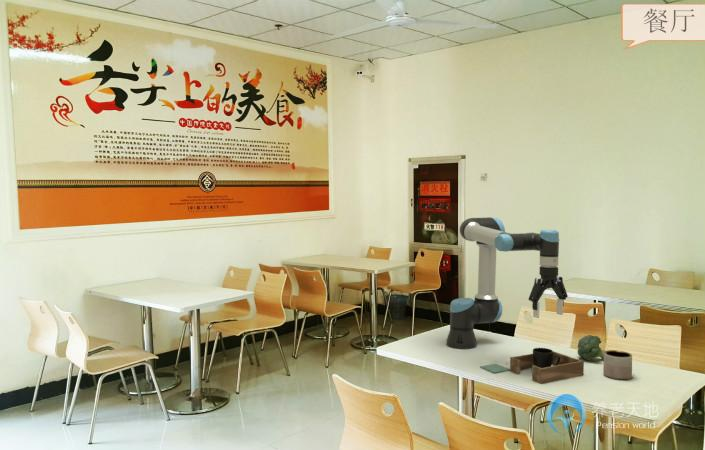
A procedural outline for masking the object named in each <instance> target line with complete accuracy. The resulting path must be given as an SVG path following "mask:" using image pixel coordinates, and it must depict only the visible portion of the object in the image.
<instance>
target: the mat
mask: <svg viewBox="0 0 705 450" xmlns="http://www.w3.org/2000/svg"><path fill="white" fill-rule="evenodd" d="M479 367H480V369H482V370H485V371H487V372H490V373H491V374H498V373H499V374H500V373H504V372H511V371H510V368H507V367H505V366H504V365H501V364H498V363H492V364H487V365H480V366H479Z"/></svg>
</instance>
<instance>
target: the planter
mask: <svg viewBox="0 0 705 450" xmlns="http://www.w3.org/2000/svg"><path fill="white" fill-rule="evenodd" d="M602 369H603V371H602V372H603V375H604V376H605V377H607V378H609V379H613V380H617V379H618V380H619V381H625V380H626V381H627V380H631V378H632V377H633V355H632V353H629V352H627V351H622V350H614V349H612V350H611V349H610V350H605V352H604V359H603V368H602Z"/></svg>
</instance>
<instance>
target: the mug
mask: <svg viewBox="0 0 705 450" xmlns="http://www.w3.org/2000/svg"><path fill="white" fill-rule="evenodd" d="M532 354H533V363H534V366H537V367H540V368H545V367H551V366H553V365H552V361H553V356H557V357H558V361H557V363H556V365H558V364H559V362H560V356H559V355H555V354H553V350H552V349H551V348H547V347H536V348H532ZM556 365H555V366H556Z"/></svg>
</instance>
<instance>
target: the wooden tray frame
mask: <svg viewBox="0 0 705 450" xmlns="http://www.w3.org/2000/svg"><path fill="white" fill-rule="evenodd" d="M552 351H553V350H552ZM553 354H555V355H559V356H560V362H559V364H558V365H556V363H557V361H558V357H557V356H553V361H552V366H551V367H545V368H540V367H537V366H534V363H533V353H530V354H523V355H518V356H511V357H510V358H509V359H510V360H509V361H510V362H509V369H510V371H509V372H511V373H514V374H516V375H521V371H523V370H530V369H531V370H532V372H531V373H532V374H531V376H532V377H531V378H532V379H531V380H532V381H533V382H535V383H538V384H541V385H542V384H546V383H552V382H557V381H562V380H568V379H572V378H577V377H581V376H585V375H584V371H585V369H584V368H585V365H584V364H585V361H584V360H581V359H578V358H575V357H572V356H569V355H566V354H563V353H560V352H556V351H553ZM555 365H556V366H555Z"/></svg>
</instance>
